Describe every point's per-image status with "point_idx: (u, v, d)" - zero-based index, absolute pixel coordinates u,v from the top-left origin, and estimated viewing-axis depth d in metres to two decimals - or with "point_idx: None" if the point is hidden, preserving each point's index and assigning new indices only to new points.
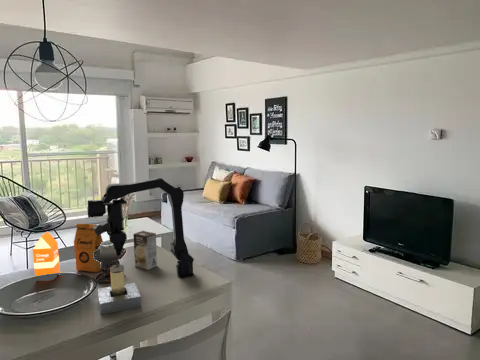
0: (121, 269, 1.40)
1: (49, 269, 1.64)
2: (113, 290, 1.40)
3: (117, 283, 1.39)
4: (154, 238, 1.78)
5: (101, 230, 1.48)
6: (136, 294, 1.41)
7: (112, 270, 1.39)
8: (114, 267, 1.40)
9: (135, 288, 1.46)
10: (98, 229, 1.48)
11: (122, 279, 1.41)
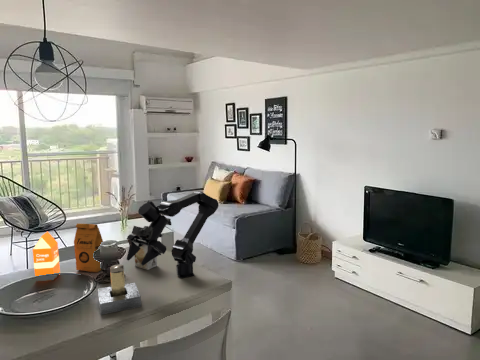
0: (121, 269, 1.40)
1: (49, 269, 1.64)
2: (113, 290, 1.40)
3: (117, 283, 1.39)
4: None
5: (147, 232, 1.46)
6: (136, 294, 1.41)
7: (112, 270, 1.39)
8: (114, 267, 1.40)
9: (135, 288, 1.46)
10: (146, 229, 1.45)
11: (122, 279, 1.41)
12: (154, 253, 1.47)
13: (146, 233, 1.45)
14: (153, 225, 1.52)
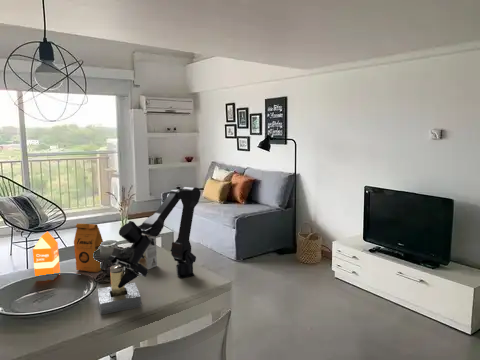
0: (121, 269, 1.40)
1: (49, 269, 1.64)
2: (113, 290, 1.40)
3: (117, 283, 1.39)
4: (154, 238, 1.78)
5: (128, 254, 1.39)
6: (136, 294, 1.41)
7: (112, 270, 1.39)
8: (114, 267, 1.40)
9: (135, 288, 1.46)
10: (127, 252, 1.39)
11: None
12: (132, 275, 1.42)
13: (126, 255, 1.39)
14: (135, 246, 1.46)
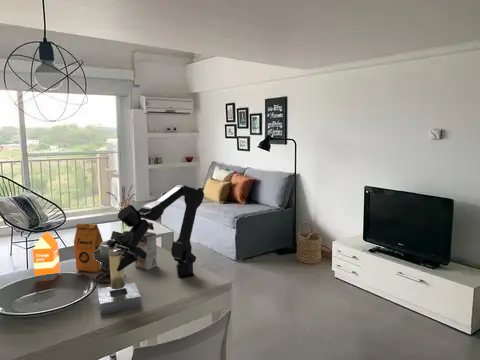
0: (120, 252, 1.39)
1: (49, 269, 1.64)
2: (112, 273, 1.39)
3: (116, 266, 1.39)
4: (154, 238, 1.78)
5: (127, 237, 1.39)
6: (136, 294, 1.41)
7: (111, 253, 1.38)
8: (113, 250, 1.40)
9: (135, 288, 1.46)
10: (125, 235, 1.38)
11: None
12: (131, 258, 1.41)
13: (125, 239, 1.38)
14: (134, 230, 1.45)
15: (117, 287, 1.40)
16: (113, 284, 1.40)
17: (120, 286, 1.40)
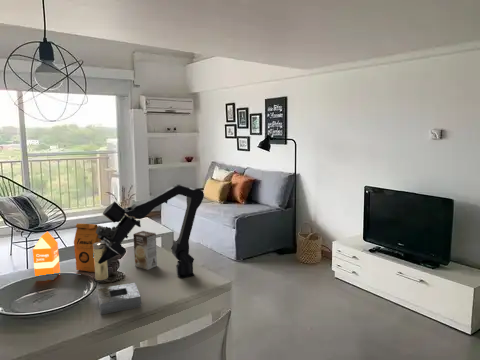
0: (102, 246, 1.48)
1: (49, 269, 1.64)
2: (95, 265, 1.49)
3: (98, 259, 1.48)
4: (154, 238, 1.78)
5: (107, 233, 1.47)
6: (136, 294, 1.41)
7: (93, 246, 1.48)
8: (96, 244, 1.50)
9: (135, 288, 1.46)
10: (106, 230, 1.47)
11: None
12: (112, 253, 1.49)
13: (106, 234, 1.47)
14: (118, 226, 1.53)
15: (99, 278, 1.50)
16: (96, 275, 1.50)
17: (102, 278, 1.50)
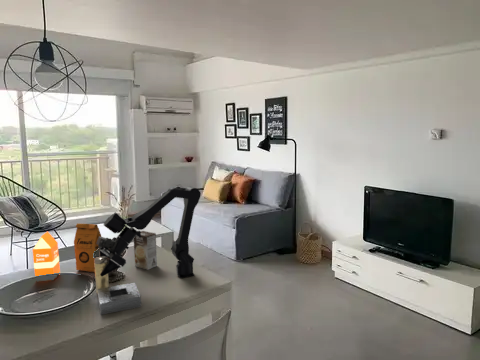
0: (103, 261, 1.49)
1: (49, 269, 1.64)
2: (96, 279, 1.50)
3: (99, 273, 1.49)
4: (154, 238, 1.78)
5: (108, 244, 1.48)
6: (136, 294, 1.41)
7: (95, 261, 1.49)
8: (98, 258, 1.51)
9: (135, 288, 1.46)
10: (107, 241, 1.48)
11: None
12: (114, 265, 1.48)
13: (106, 245, 1.48)
14: (119, 237, 1.53)
15: None
16: (97, 289, 1.51)
17: None
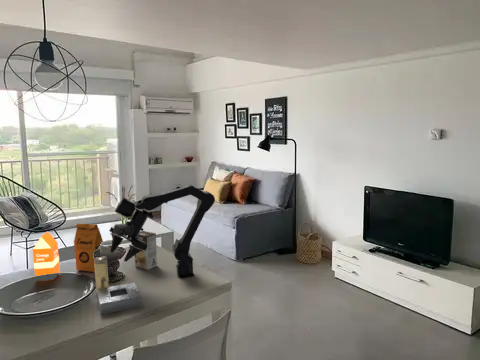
0: (103, 261, 1.49)
1: (49, 269, 1.64)
2: (96, 280, 1.50)
3: (99, 273, 1.49)
4: (154, 238, 1.78)
5: (128, 232, 1.51)
6: (136, 294, 1.41)
7: (95, 261, 1.49)
8: (98, 258, 1.50)
9: (135, 288, 1.46)
10: (127, 230, 1.51)
11: (104, 270, 1.50)
12: (136, 250, 1.55)
13: (127, 234, 1.51)
14: (134, 221, 1.57)
15: None
16: (97, 289, 1.51)
17: None
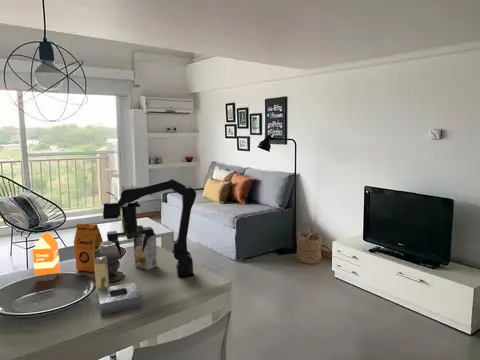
0: (103, 261, 1.49)
1: (49, 269, 1.64)
2: (96, 279, 1.50)
3: (99, 273, 1.49)
4: (154, 238, 1.78)
5: None
6: (136, 294, 1.41)
7: (95, 261, 1.49)
8: (98, 258, 1.51)
9: (135, 288, 1.46)
10: (143, 229, 1.57)
11: (104, 270, 1.50)
12: None
13: (142, 231, 1.57)
14: (133, 218, 1.59)
15: None
16: (97, 289, 1.51)
17: None
